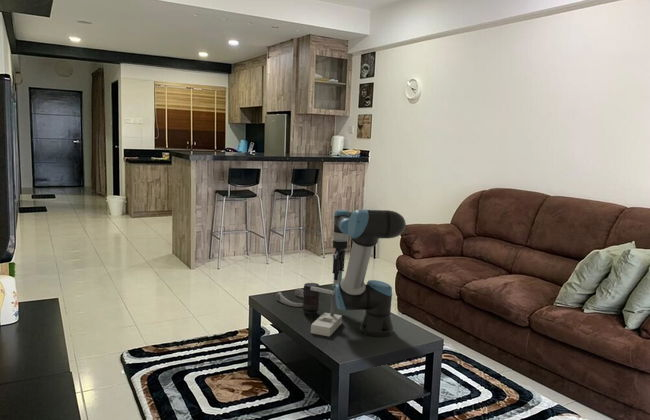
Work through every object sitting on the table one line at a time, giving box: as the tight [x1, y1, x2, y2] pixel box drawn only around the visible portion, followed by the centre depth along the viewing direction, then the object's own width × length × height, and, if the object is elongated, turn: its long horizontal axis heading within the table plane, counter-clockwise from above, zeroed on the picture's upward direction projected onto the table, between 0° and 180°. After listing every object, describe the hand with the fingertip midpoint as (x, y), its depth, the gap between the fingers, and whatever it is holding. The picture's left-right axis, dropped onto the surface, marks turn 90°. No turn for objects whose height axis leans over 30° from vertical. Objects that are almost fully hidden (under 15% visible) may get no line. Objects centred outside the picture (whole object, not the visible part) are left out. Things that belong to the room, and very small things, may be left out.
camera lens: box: [302, 282, 321, 317], centre depth 251 cm, size 8×8×15 cm
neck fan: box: [276, 287, 304, 308], centre depth 269 cm, size 18×17×5 cm
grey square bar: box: [310, 286, 335, 296], centre depth 240 cm, size 2×13×2 cm, turn 64°
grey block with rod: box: [310, 294, 343, 337], centre depth 232 cm, size 9×18×14 cm, turn 161°
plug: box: [331, 270, 343, 291], centre depth 257 cm, size 5×5×11 cm
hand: (337, 284), depth 257 cm, fingers closed on plug, 4 cm apart
